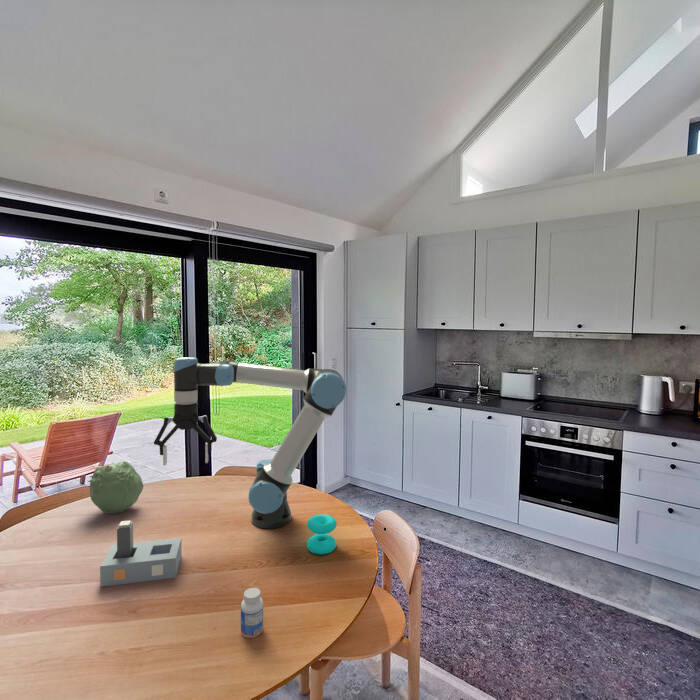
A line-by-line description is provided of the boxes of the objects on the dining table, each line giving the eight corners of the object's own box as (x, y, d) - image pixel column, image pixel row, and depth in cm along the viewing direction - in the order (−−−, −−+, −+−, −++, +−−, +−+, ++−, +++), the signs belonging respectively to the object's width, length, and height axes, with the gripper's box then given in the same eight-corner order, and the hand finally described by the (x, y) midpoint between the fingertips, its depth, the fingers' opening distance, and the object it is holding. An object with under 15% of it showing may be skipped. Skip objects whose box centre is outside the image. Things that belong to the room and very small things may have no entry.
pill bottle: (242, 623, 106) (243, 585, 105) (264, 622, 106) (264, 585, 106) (238, 639, 101) (239, 599, 100) (261, 638, 101) (262, 599, 100)
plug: (133, 563, 128) (133, 519, 128) (130, 570, 125) (130, 525, 124) (120, 565, 128) (120, 520, 127) (117, 571, 124) (116, 526, 123)
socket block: (181, 556, 136) (181, 538, 136) (175, 578, 124) (175, 558, 124) (112, 563, 131) (112, 544, 131) (100, 587, 119) (99, 566, 119)
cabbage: (150, 509, 169) (150, 460, 168) (99, 526, 154) (98, 473, 153) (132, 499, 179) (132, 452, 178) (82, 514, 164) (82, 463, 163)
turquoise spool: (301, 519, 142) (322, 510, 149) (300, 548, 142) (322, 537, 150) (321, 529, 135) (342, 519, 142) (320, 559, 136) (342, 548, 143)
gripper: (224, 399, 152) (224, 457, 153) (149, 401, 145) (149, 461, 147) (223, 403, 144) (223, 464, 146) (144, 405, 138) (144, 468, 139)
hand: (186, 463), depth 146 cm, fingers open, 13 cm apart
